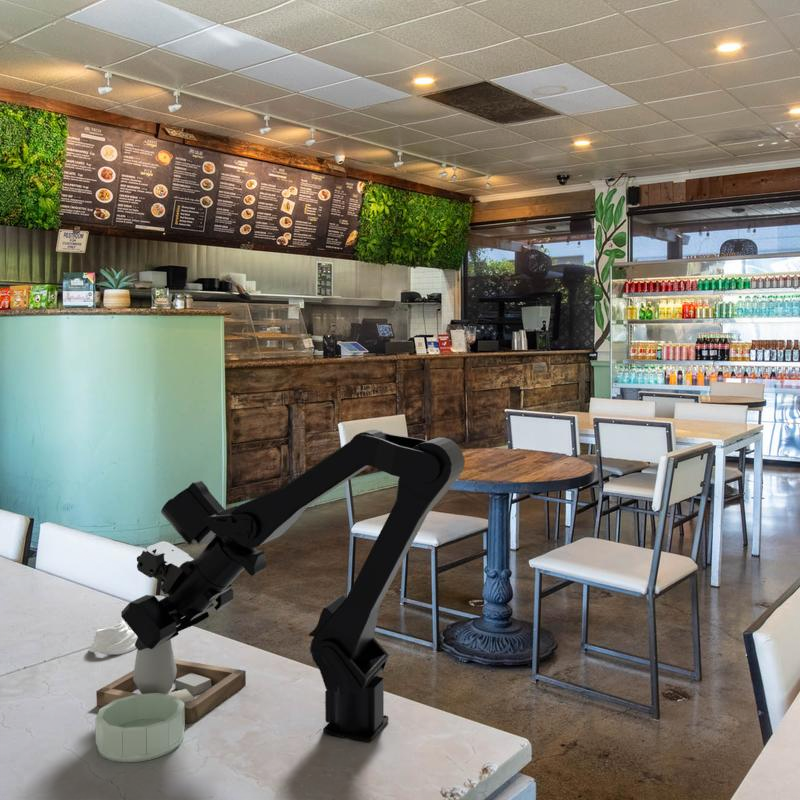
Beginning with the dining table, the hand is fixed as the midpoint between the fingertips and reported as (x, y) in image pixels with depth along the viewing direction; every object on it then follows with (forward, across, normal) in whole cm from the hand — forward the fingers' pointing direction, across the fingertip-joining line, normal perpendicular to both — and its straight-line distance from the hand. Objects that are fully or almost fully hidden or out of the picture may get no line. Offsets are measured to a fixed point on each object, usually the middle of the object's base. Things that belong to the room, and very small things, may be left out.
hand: (145, 642), depth 111 cm
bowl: (0, +12, +10) cm, 16 cm away
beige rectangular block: (+1, +2, +10) cm, 10 cm away
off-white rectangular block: (+2, -4, +9) cm, 10 cm away
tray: (+3, -1, +8) cm, 8 cm away
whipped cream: (+16, -13, -6) cm, 21 cm away
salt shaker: (+4, 0, +6) cm, 7 cm away
